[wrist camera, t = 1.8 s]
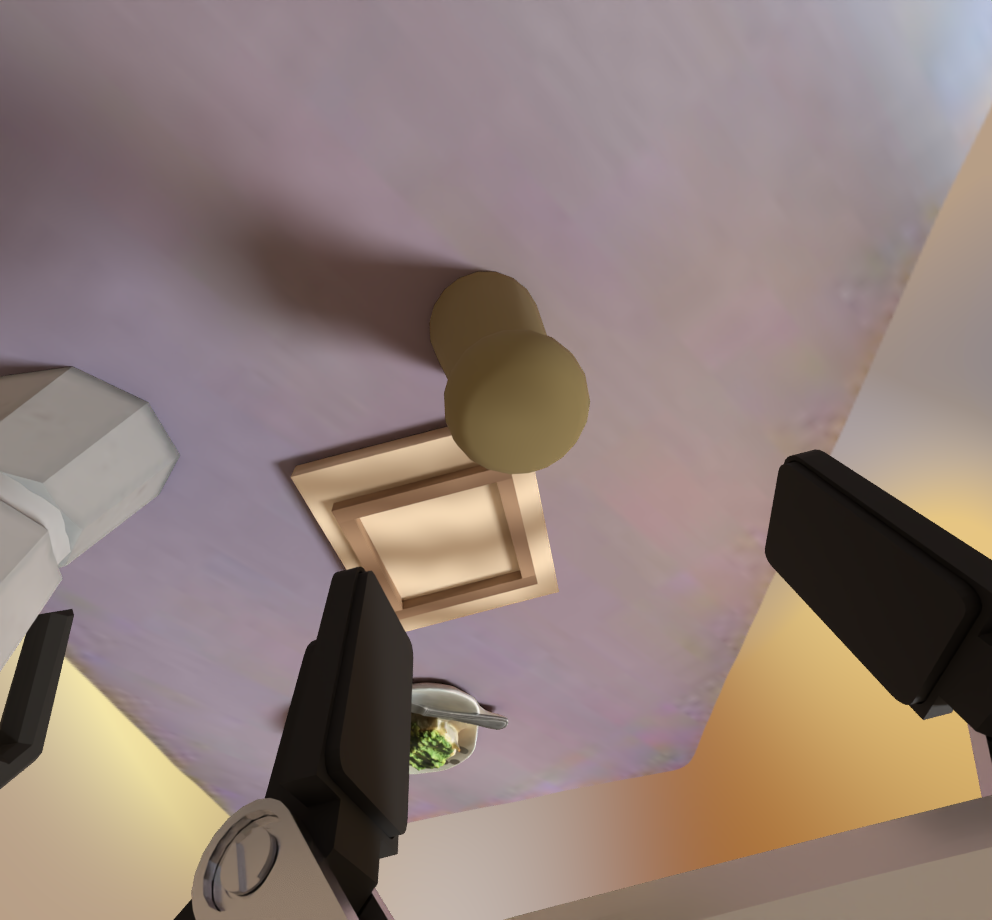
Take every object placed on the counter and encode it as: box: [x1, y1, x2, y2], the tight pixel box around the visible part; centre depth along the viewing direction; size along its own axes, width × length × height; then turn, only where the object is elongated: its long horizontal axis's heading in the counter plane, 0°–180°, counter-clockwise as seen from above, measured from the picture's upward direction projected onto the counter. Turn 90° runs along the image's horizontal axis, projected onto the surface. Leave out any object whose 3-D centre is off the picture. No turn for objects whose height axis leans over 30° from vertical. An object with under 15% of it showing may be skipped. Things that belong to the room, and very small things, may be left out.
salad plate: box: [409, 682, 508, 774], centre depth 42 cm, size 19×18×5 cm
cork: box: [429, 272, 590, 474], centre depth 19 cm, size 6×6×11 cm
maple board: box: [291, 427, 559, 632], centre depth 30 cm, size 16×14×2 cm
